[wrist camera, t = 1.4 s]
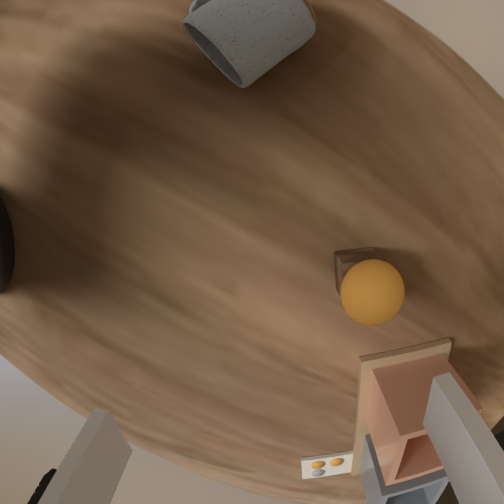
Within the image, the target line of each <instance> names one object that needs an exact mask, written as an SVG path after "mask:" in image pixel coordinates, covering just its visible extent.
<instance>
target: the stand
mask: <svg viewBox="0 0 504 504" xmlns="http://www.w3.org/2000/svg"><path fill="white" fill-rule="evenodd" d="M334 259H335V275H336V289H337V291H338V293H339V295H340V290H341V285H342V281H343V279H344V277H345V275H346V274H347V272H348V271H349V270H350V269H351V268H352V267H353V266H354V265H356V264H357V263H359V262H361V261H364V260H369V259H378V260H382V261H385V258H384V257H383V256H382V255H380V254H379V253H378V252H377V251H376V250H375V249H374V248H372V247H368V248H360V249H352V250H344V251H336V252H334ZM340 297H341V296H340Z"/></svg>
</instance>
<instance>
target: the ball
mask: <svg viewBox="0 0 504 504" xmlns="http://www.w3.org/2000/svg"><path fill="white" fill-rule="evenodd" d="M404 294H405V289H404V283H403V280H402V278H401V276H400V274H399V272H398V271H397V270H396V269H395V268H394V267H393V266H392V265H390V264H389V263H387V262H385V261H382V260H378V259H369V260H364V261H361V262H359V263H357V264H356V265H354V266H353V267H352V268H351V269H350V270H349V271H348V272H347V274H346V275H345V277H344V279H343V281H342V285H341V290H340V296H341V302H342V305H343V307H344V309H345V311H346V312H347V314H348V315H349V316H350V317H351V318H352V319H353V320H355V321H356V322H359V323H361V324H364V325H370V326H374V325H380V324H383V323H385V322H387V321H389V320H390V319H392V318H393V317H394V316H395V315H396V314H397V313H398V311H399V310H400V308H401V306H402V303H403V300H404Z"/></svg>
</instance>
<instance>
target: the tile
mask: <svg viewBox="0 0 504 504" xmlns="http://www.w3.org/2000/svg"><path fill="white" fill-rule="evenodd" d="M352 457H353V451H352V450H351V451H346V452H340V453H334V454H327V455H320V456H313V457H304V458H301V462H302V477H303V479H307V478H315V477H323V476H330V475H336V474H342V473H348V472H351V465H352Z"/></svg>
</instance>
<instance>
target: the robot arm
mask: <svg viewBox="0 0 504 504" xmlns="http://www.w3.org/2000/svg"><path fill="white" fill-rule="evenodd" d="M13 262H14V246H13V237H12V231H11V227H10V223H9V219H8V216H7V213H6V210H5V208H4V206H3V204H2V202H1V200H0V291H1V290H3V289H4V288H5V287H6V285H7V284H8V282H9V280H10V277H11V274H12V269H13ZM423 426H424V428H425V430H426V432H427V434H428V436H429V438H430V440H431V442H432V444H433V446H434V448H435V450H436V452H437V454H438V457H439V459H440V461H441V463H442V465H443V467H444V470H445V472H446V474H447V476H448V479H449V481H450V482H451V485H452V488H453V490H454V492H455V495H456V497H457V499H458V501H459V504H504V431H502V432H500V433H498V434H496V435H494V436H493V434H492V433H491V431H490V429H489V428H488V426H487V425H486V423H485V422H484V420H483V419H482V417H481V416H480V415H479V413H478V412H477V410H476V409H475V407H474V406H473V404H472V403H471V402H470V400H469V399H468V397H467V396H466V394H465V393H464V392H463V390H462V389H461V387H460V386H459V385H458V383H457V382H456V381H455V379H454V378H453V376H452V375H451V374H450V372H448V373H445V374H442V375H438V376H435V377H433V380H432V385H431V390H430V395H429V399H428V404H427V408H426V412H425V416H424V420H423ZM131 452H132V449H131V447H130V445H129V444H128V442H127V440H126V439H125V437H124V435H123V434H122V432H121V430H120V429H119V427H118V425H117V423H116V421H115V420H114V418H113V416H112V414H111V412H110V410H109V409H98V408H95V409H94V410H93V412H92V414H91V415H90V417H89V418H88V420H87V422H86V423H85V425H84V427H83V428H82V430H81V431H80V433H79V434H78V436H77V438H76V439H75V441H74V443H73V444H72V446H71V448H70V449H69V451H68V452H67V454H66V456H65V457H64V459H63V461H62V463H61V464H60V466H59V468H58V469H57V470H56V469H51V470H50V471H49V472H48V473H47V474H45V475H44V477H43V478H42V480H41V482H40V483H39V486H38V487H37V488H36V490H35V493H33V495H32V497H31V499H30V500H29V502H28V504H110V502H111V500H112V497H113V495H114V493H115V490H116V488H117V486H118V483H119V481H120V478H121V476H122V474H123V471H124V469H125V467H126V464H127V462H128V460H129V457H130V455H131Z"/></svg>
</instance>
